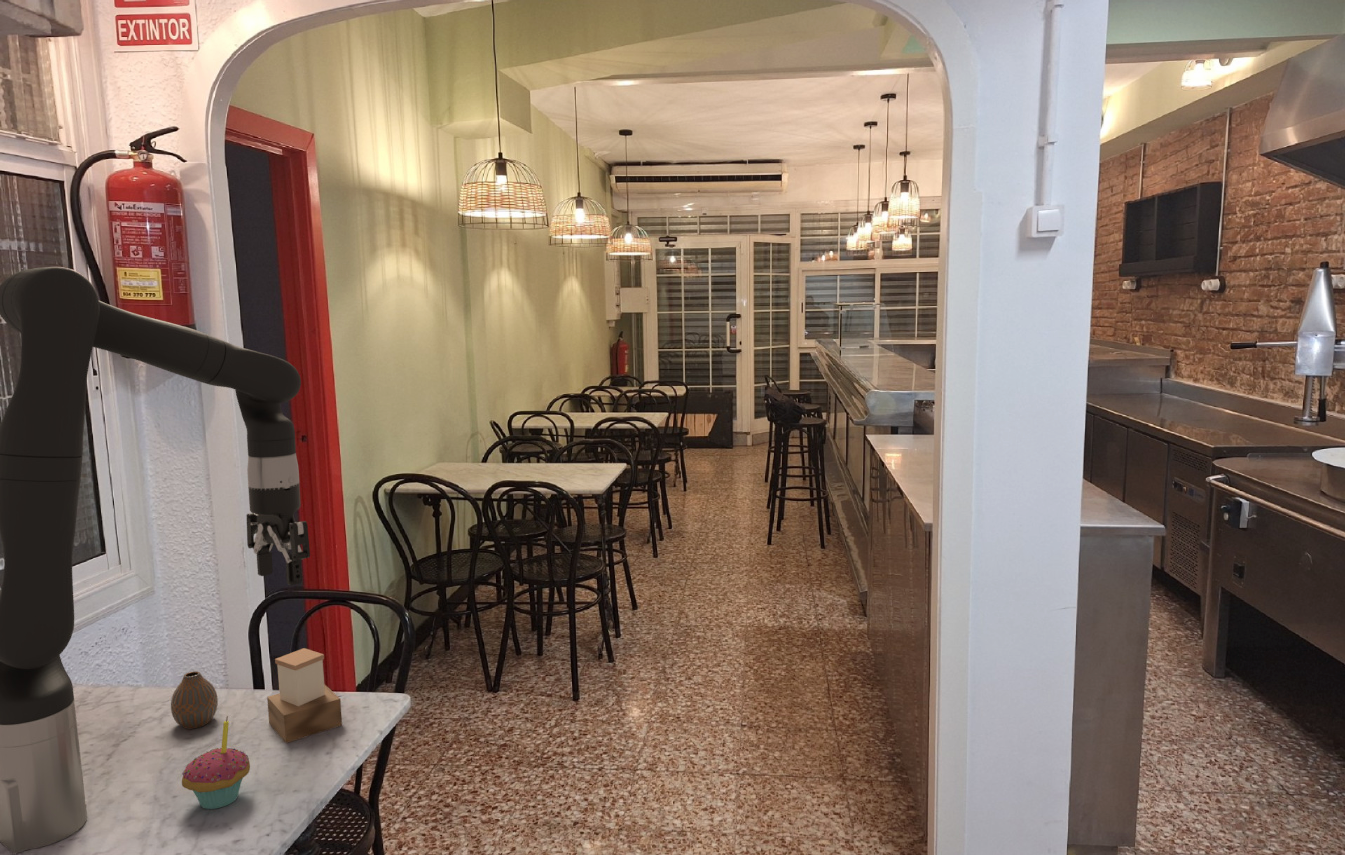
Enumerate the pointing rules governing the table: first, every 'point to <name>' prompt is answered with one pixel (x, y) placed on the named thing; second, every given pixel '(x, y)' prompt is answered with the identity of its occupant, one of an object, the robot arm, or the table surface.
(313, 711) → the brown wooden block
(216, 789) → the cupcake
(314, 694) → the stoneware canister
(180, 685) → the vase
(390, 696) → the table surface
